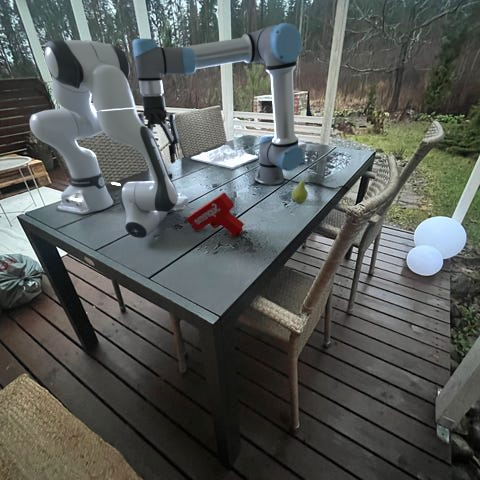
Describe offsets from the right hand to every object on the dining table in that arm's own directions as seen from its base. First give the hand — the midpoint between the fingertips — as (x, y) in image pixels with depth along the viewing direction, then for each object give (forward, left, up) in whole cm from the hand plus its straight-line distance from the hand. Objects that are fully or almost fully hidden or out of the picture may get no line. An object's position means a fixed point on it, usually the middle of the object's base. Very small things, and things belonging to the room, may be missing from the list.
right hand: (163, 161), depth 105 cm
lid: (0, 0, -5) cm, 5 cm away
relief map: (+5, -77, -21) cm, 80 cm away
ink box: (-42, -82, -21) cm, 95 cm away
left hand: (0, -1, -14) cm, 14 cm away
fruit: (-51, -24, -21) cm, 60 cm away
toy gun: (-25, +11, -21) cm, 34 cm away
